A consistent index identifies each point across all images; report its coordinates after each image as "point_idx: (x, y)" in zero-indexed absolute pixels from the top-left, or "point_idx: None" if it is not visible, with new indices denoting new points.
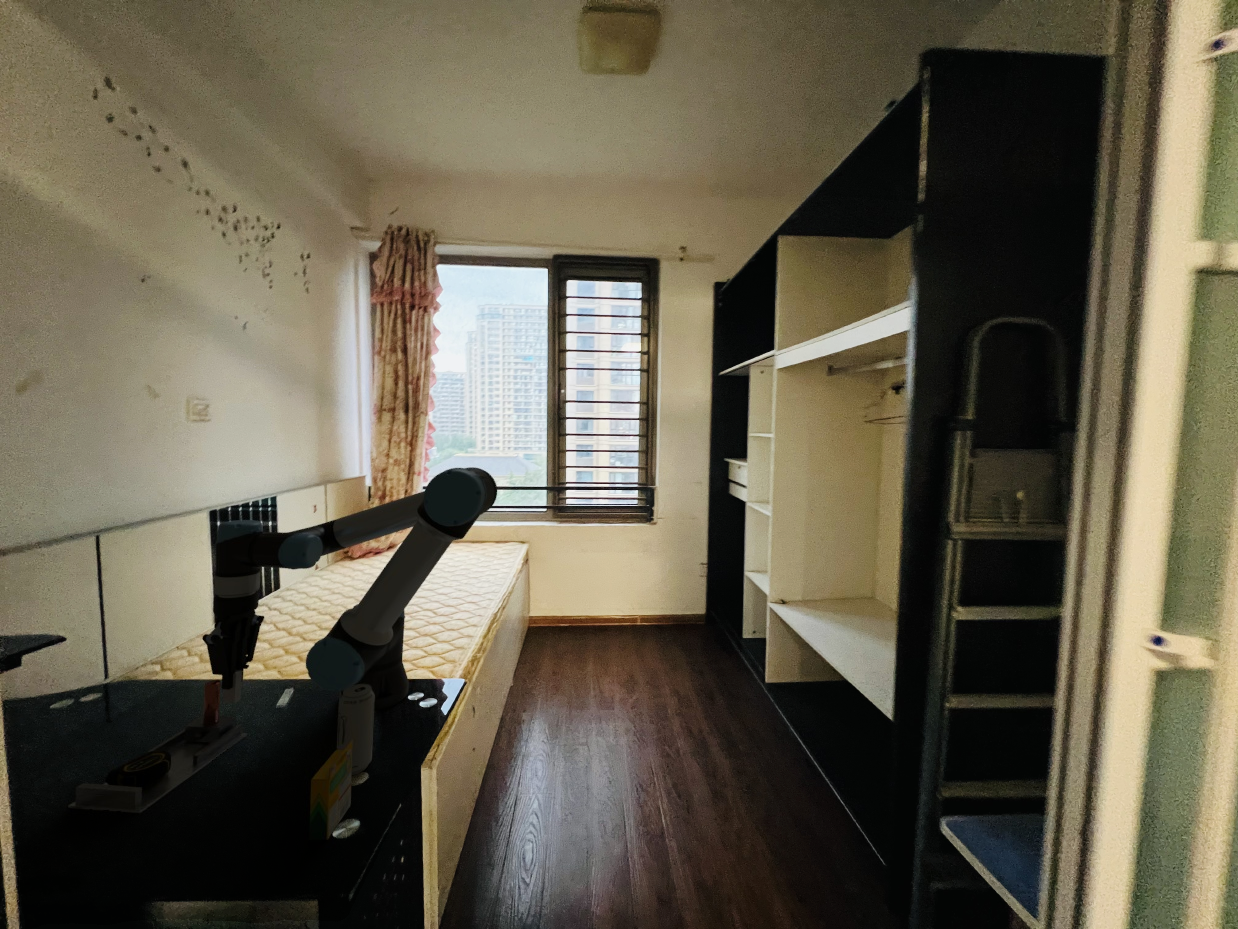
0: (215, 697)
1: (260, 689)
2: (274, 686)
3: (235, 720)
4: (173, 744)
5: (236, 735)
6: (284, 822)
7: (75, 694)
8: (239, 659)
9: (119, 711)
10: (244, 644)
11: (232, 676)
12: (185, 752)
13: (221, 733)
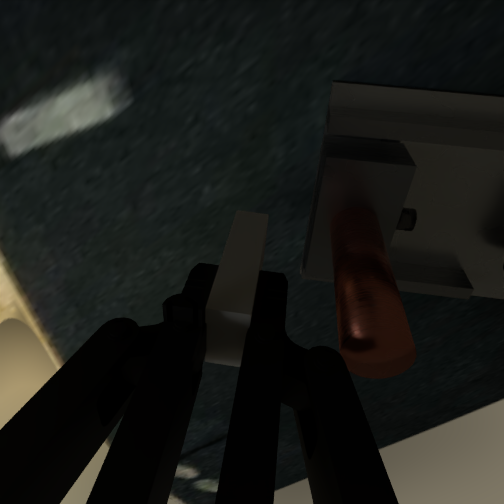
0: (387, 279)
1: (51, 234)
2: (18, 204)
3: (328, 152)
4: (393, 267)
5: (358, 109)
6: None
7: (181, 486)
8: (189, 382)
9: (222, 425)
10: (123, 492)
11: (255, 315)
12: (434, 213)
13: (397, 153)
